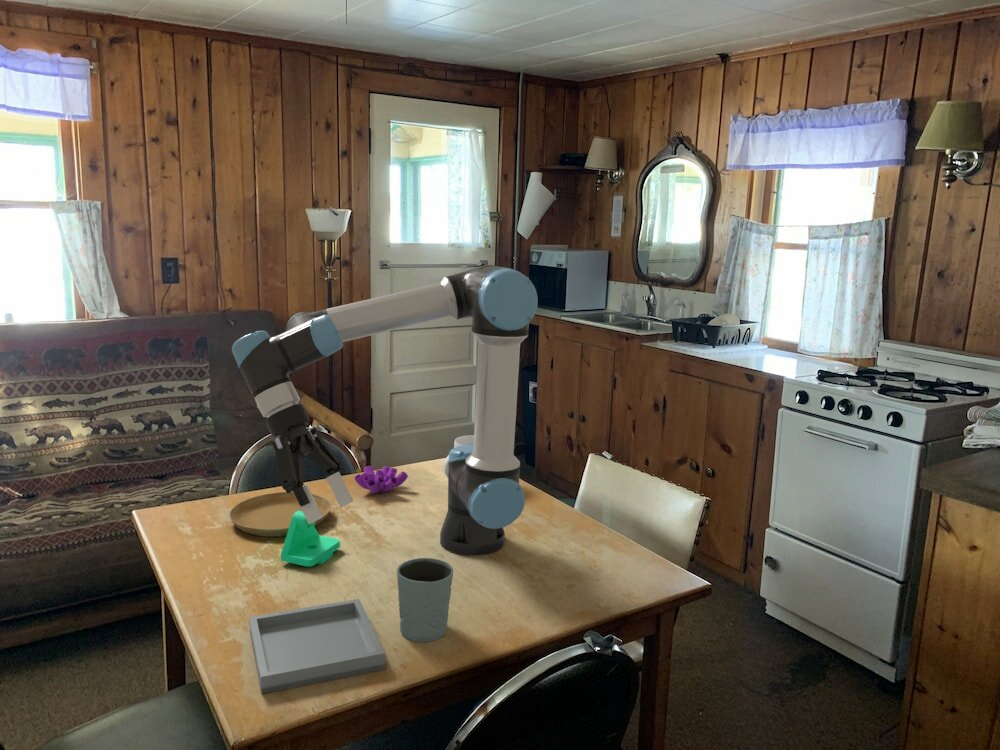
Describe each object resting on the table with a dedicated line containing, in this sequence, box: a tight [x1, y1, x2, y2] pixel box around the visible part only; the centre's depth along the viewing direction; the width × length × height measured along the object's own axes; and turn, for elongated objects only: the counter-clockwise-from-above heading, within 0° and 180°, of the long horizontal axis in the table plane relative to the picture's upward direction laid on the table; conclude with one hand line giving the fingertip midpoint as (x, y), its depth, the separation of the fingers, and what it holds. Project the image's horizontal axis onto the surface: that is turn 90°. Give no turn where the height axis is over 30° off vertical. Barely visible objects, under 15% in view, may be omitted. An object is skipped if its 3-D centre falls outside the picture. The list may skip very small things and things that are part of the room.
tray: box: [248, 598, 386, 695], centre depth 136 cm, size 20×20×3 cm
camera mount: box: [280, 511, 341, 568], centre depth 172 cm, size 12×8×10 cm, turn 159°
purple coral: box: [354, 465, 409, 494], centre depth 214 cm, size 11×15×10 cm
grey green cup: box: [396, 557, 454, 643], centre depth 143 cm, size 10×10×12 cm
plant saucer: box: [228, 491, 332, 538], centre depth 193 cm, size 24×24×3 cm
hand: (332, 512), depth 146 cm, fingers open, 13 cm apart
